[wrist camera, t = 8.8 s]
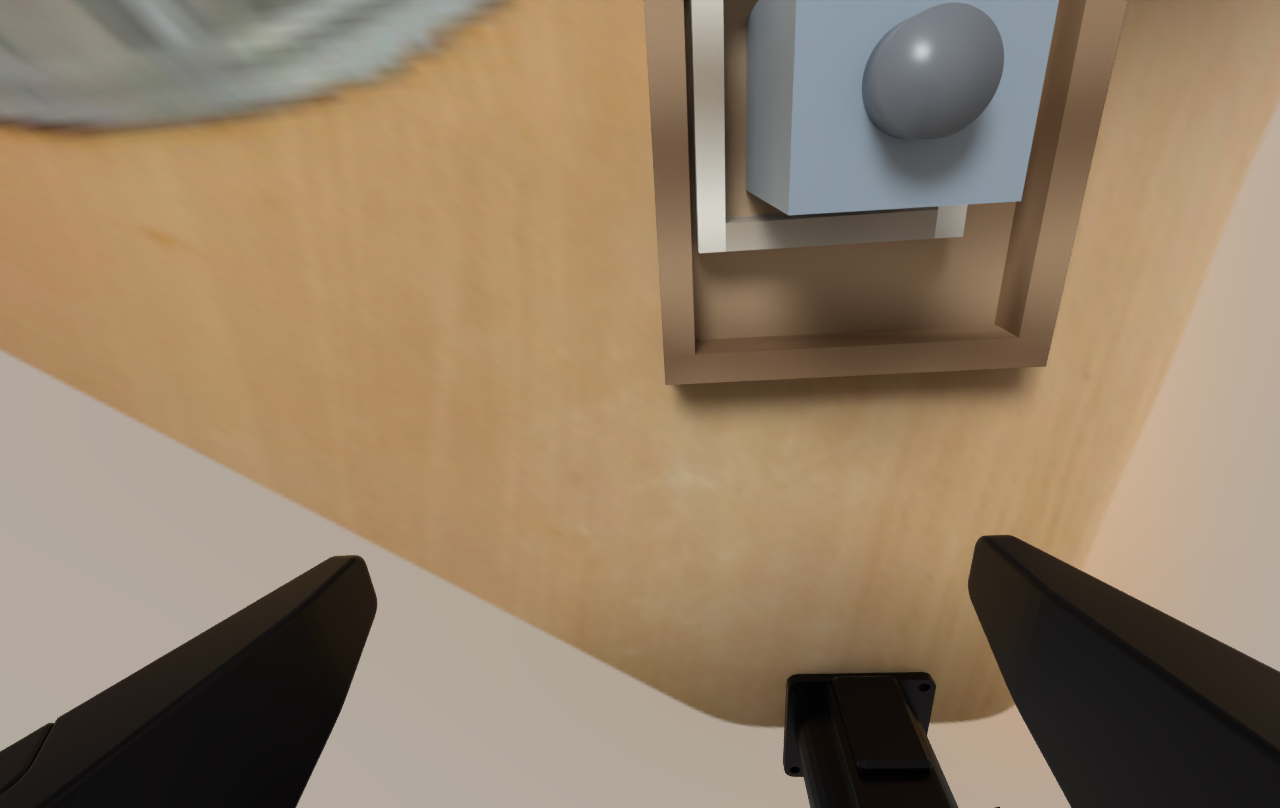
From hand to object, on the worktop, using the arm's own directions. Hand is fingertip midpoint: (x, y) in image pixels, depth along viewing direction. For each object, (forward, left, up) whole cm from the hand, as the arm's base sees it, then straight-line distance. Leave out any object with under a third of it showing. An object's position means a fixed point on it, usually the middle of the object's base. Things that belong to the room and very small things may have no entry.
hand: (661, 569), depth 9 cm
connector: (+6, -5, -12) cm, 15 cm away
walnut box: (+5, -6, -13) cm, 15 cm away
